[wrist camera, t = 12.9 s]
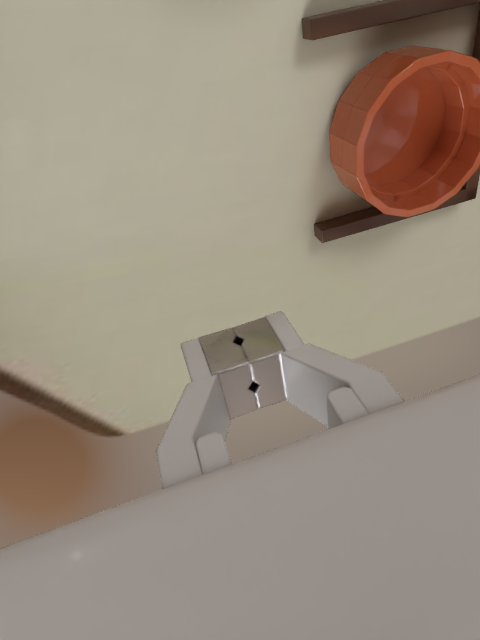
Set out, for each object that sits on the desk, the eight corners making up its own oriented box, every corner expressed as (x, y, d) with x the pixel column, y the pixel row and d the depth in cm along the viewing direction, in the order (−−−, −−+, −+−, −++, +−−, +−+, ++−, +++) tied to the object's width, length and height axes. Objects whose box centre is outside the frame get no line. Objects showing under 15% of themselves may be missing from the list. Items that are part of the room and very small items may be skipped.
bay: (301, 18, 30) (310, 18, 29) (498, -25, 32) (515, -27, 31) (314, 236, 40) (322, 243, 39) (464, 192, 42) (475, 198, 41)
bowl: (322, 65, 32) (356, 73, 28) (460, 31, 33) (510, 35, 29) (329, 209, 39) (357, 232, 35) (443, 176, 40) (482, 195, 36)
